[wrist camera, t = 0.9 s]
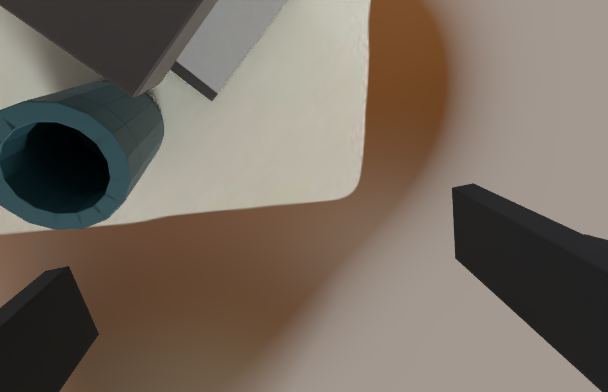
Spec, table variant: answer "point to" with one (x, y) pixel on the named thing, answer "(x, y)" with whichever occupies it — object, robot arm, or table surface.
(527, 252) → the robot arm
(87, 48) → the coffee maker
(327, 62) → the table surface
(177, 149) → the table surface
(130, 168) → the teal tumbler
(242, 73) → the table surface
